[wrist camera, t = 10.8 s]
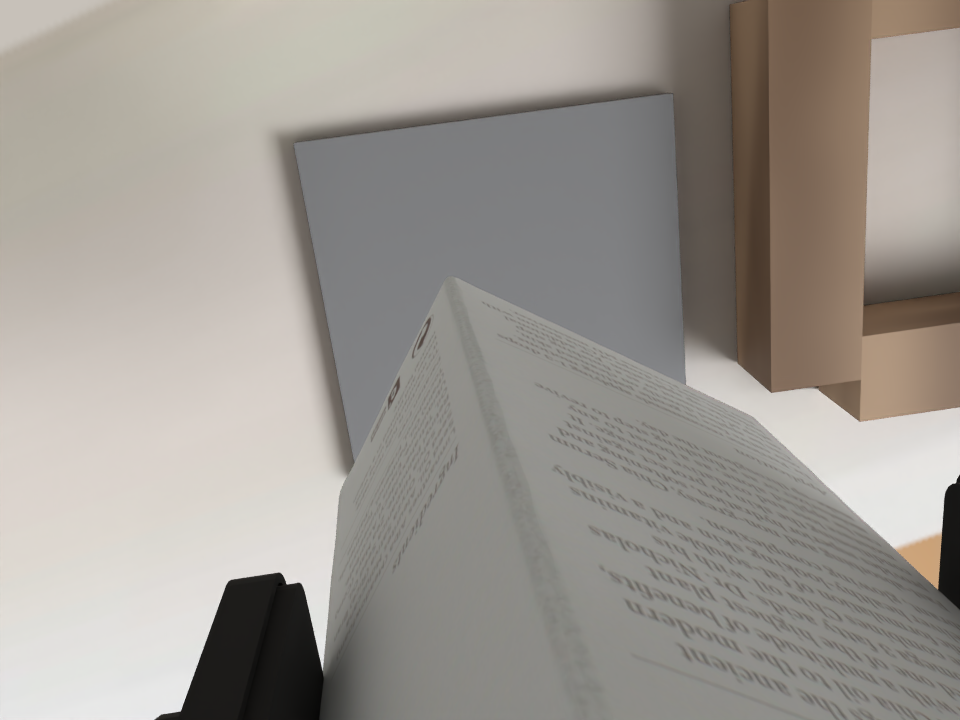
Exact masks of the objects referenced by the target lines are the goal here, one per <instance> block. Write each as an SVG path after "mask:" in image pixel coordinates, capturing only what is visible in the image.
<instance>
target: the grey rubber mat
mask: <svg viewBox="0 0 960 720" xmlns="http://www.w3.org/2000/svg"><path fill="white" fill-rule="evenodd" d="M293 144H294V149H295V154H296V160H297V165H298V170H299V175H300V181H301V186H302V191H303V196H304V202H305V207H306V212H307V217H308V223H309V228H310V233H311V238H312V244H313V249H314V254H315V259H316V265H317V270H318V275H319V280H320V286H321V291H322V296H323V301H324V306H325V312H326V317H327V322H328V327H329V333H330V338H331V343H332V348H333V354H334V359H335V364H336V369H337V375H338V380H339V385H340V390H341V396H342V401H343V406H344V411H345V417H346V422H347V427H348V432H349V438H350V443H351V448H352V453H353V459H354V463H355V461H356V459H357V457H358V455H359V453H360V451H361V449H362V447H363V445H364V443H365V441H366V439H367V437H368V435H369V433H370V431H371V429H372V426H373V424H374V422H375V420H376V418H377V416H378V414H379V412H380V410H381V408H382V406H383V403H384V401H385V399H386V397H387V395H388V393H389V391H390V389H391V387H392V384H393V382H394V380H395V378H396V376H397V374H398V372H399V370H400V368H401V366H402V364H403V362H404V360H405V358H406V356H407V354H408V352H409V350H410V348H411V346H412V344H413V342H414V341H415V339H416V337H417V335H418V333H419V331H420V329H421V327H422V325H423V323H424V321H425V319H426V317H427V315H428V313H429V311H430V309H431V307H432V305H433V303H434V301H435V299H436V297H437V295H438V293H439V291H440V289H441V287H442V285H443V283H444V281H445V279H446V278H447V277H449V276H453V277H456V278H458V279H461V280H463V281H465V282H467V283H469V284H471V285H473V286H475V287H477V288H479V289H481V290H483V291H485V292H487V293H490V294H492V295H494V296H496V297H498V298H500V299H503V300H505V301H507V302H509V303H511V304H513V305H516V306H518V307H520V308H522V309H524V310H526V311H528V312H530V313H533V314H535V315H537V316H539V317H541V318H543V319H546V320H548V321H550V322H552V323H554V324H557V325H559V326H561V327H563V328H565V329H567V330H569V331H572V332H574V333H576V334H578V335H580V336H582V337H584V338H586V339H588V340H591V341H593V342H595V343H597V344H599V345H601V346H603V347H606V348H608V349H610V350H612V351H614V352H616V353H619V354H621V355H623V356H625V357H627V358H629V359H631V360H633V361H635V362H637V363H639V364H641V365H643V366H646V367H648V368H650V369H652V370H654V371H657V372H659V373H661V374H663V375H665V376H667V377H669V378H672V379H674V380H676V381H678V382H680V383H682V384H684V385H686V376H685V353H684V331H683V308H682V285H681V263H680V240H679V217H678V195H677V172H676V149H675V127H674V104H673V93H665V94H657V95H649V96H642V97H634V98H627V99H619V100H612V101H604V102H596V103H589V104H581V105H574V106H566V107H558V108H551V109H543V110H536V111H528V112H520V113H513V114H505V115H498V116H490V117H482V118H475V119H467V120H460V121H452V122H445V123H437V124H429V125H422V126H414V127H407V128H399V129H391V130H384V131H376V132H369V133H361V134H353V135H346V136H338V137H331V138H323V139H316V140H308V141H300V142H295V143H293Z"/></svg>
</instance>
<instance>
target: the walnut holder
mask: <svg viewBox="0 0 960 720" xmlns="http://www.w3.org/2000/svg"><path fill="white" fill-rule="evenodd" d="M953 28H960V0H748V1H743V2H739V3H735V4H730V41H731V86H732V131H733V177H734V222H735V267H736V313H737V358H738V364H739V365H740V366H741V367H743V368H744V369H745V370H746V371H747V372H748V373H749V374H751V375H752V376H753V377H754V378H755V379H756V380H757V381H759V382H760V383H761V384H762V385H763V386H764V387H765V388H766V389H768V390H769V391H770V392H771V393H774V392H781V391H788V390H794V389H801V388H808V387H815V386H818V390H819V391H821V392H822V393H823V394H824V395H826V396H827V397H828V398H830V399H831V400H832V401H834V402H835V403H836V404H837V405H839V406H840V407H841V408H843V409H844V410H845V411H846V412H848V413H849V414H850V415H852V416H853V417H854V418H856V419H857V420H858V421H859V422H861V421H868V420H875V419H882V418H889V417H896V416H903V415H909V414H916V413H923V412H930V411H937V410H944V409H951V408H957V407H960V292H956V293H949V294H942V295H935V296H928V297H921V298H914V299H907V300H900V301H893V302H886V303H879V304H871V305H864V306H863V297H864V264H865V230H866V197H867V163H868V130H869V96H870V63H871V39H876V38H884V37H891V36H899V35H907V34H914V33H922V32H930V31H937V30H945V29H953Z"/></svg>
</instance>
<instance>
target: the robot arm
mask: <svg viewBox="0 0 960 720" xmlns="http://www.w3.org/2000/svg"><path fill="white" fill-rule="evenodd" d="M938 590H939V591H940V592H941V593H942V594H943V595H944V596H945V597H946V598H947V599H948V600H950V601H951V602H952V603H953V604H954V605H955V606H956V607H957V608H958V609H959V610H960V475H959V477H958V478H957V482H956V483H955V484H952V485H950V486H949V487H948V488H947V490H946V493H945V498H944V512H943V527H942V543H941V557H940V572H939V586H938ZM323 681H324V676H323V671H322V667H321V662H320V658H319V653H318V649H317V645H316V640H315V636H314V631H313V627H312V622H311V618H310V613H309V609H308V605H307V600H306V596H305V592H304V589H303V586H302V584H300V583H295V584H288V585H286V581H285V579H284V577H283V575H282V574H281V573H274V574H267V575H260V576H254V577H247V578H240V579H234V580H230V581H229V582H228V584H227V585H226V588H225V590H224V593H223V596H222V599H221V601H220V604H219V607H218V610H217V613H216V615H215V618H214V621H213V624H212V626H211V629H210V632H209V635H208V638H207V640H206V643H205V646H204V649H203V652H202V654H201V657H200V660H199V663H198V665H197V668H196V671H195V674H194V677H193V679H192V682H191V685H190V688H189V690H188V693H187V696H186V699H185V702H184V704H183V707H182V710H181V712H175V713H169V714H163V715H160V716H159V717H158V718H156V719H155V720H319V717H320V708H321V698H322V689H323Z"/></svg>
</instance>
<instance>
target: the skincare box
mask: <svg viewBox="0 0 960 720" xmlns="http://www.w3.org/2000/svg"><path fill="white" fill-rule="evenodd" d="M323 676H324V681H323V689H322V698H321V708H320V717H319V720H960V610H959V609H958V608H957V607H956V606H955V605H954V604H953V603H952V602H951V601H950V600H948V599H947V598H946V597H945V596H944V595H943V594H942V593H941V592H940V591H939V590H937V589H936V588H935V587H934V586H933V585H932V584H931V583H930V582H929V581H928V580H926V578H924V577H923V576H922V575H921V574H920V573H919V572H918V571H917V570H916V569H915V568H914V567H913V566H912V565H911V564H909V562H907V561H906V560H905V559H904V558H903V557H902V556H901V555H900V554H899V553H898V552H897V551H896V550H895V549H894V548H893V547H892V546H891V545H890V544H888V543H887V542H886V541H885V540H884V539H883V538H882V537H881V536H880V535H879V534H878V533H877V532H875V531H874V530H873V529H872V528H871V527H870V526H869V525H868V524H867V523H866V522H864V521H863V520H862V519H861V518H860V517H859V516H858V515H857V514H856V513H854V512H853V511H852V510H851V509H850V508H849V507H848V506H847V505H846V504H845V503H844V502H843V501H842V500H841V499H840V498H839V497H838V496H837V495H836V494H835V493H834V492H833V491H831V490H830V489H829V488H828V487H827V486H826V485H825V484H824V483H823V482H822V481H821V480H820V479H819V478H818V477H817V476H816V475H815V474H814V473H813V472H812V471H811V470H810V469H809V468H807V467H806V466H805V465H804V464H803V463H802V462H801V461H800V460H799V459H798V458H796V457H795V456H794V455H793V454H792V453H791V452H790V451H789V450H788V449H787V448H786V447H785V446H784V445H783V444H781V443H780V442H779V441H778V440H777V439H776V438H775V437H774V436H773V435H772V434H771V433H770V432H769V431H768V430H767V429H765V428H764V427H763V426H762V425H761V424H760V423H759V422H758V421H757V420H756V419H755V418H753V417H752V416H750V415H748V414H746V413H744V412H742V411H739V410H737V409H735V408H733V407H731V406H729V405H727V404H725V403H723V402H720V401H718V400H716V399H714V398H712V397H710V396H708V395H706V394H704V393H701V392H699V391H697V390H695V389H693V388H691V387H689V386H687V385H684V384H682V383H680V382H678V381H676V380H674V379H672V378H669V377H667V376H665V375H663V374H661V373H659V372H657V371H654V370H652V369H650V368H648V367H646V366H643V365H641V364H639V363H637V362H635V361H633V360H631V359H629V358H627V357H625V356H623V355H621V354H619V353H616V352H614V351H612V350H610V349H608V348H606V347H603V346H601V345H599V344H597V343H595V342H593V341H591V340H588V339H586V338H584V337H582V336H580V335H578V334H576V333H574V332H572V331H569V330H567V329H565V328H563V327H561V326H559V325H557V324H554V323H552V322H550V321H548V320H546V319H543V318H541V317H539V316H537V315H535V314H533V313H530V312H528V311H526V310H524V309H522V308H520V307H518V306H516V305H513V304H511V303H509V302H507V301H505V300H503V299H500V298H498V297H496V296H494V295H492V294H490V293H487V292H485V291H483V290H481V289H479V288H477V287H475V286H473V285H471V284H469V283H467V282H465V281H463V280H461V279H458V278H456V277H453V276H449V277H447V278H446V279H445V281H444V283H443V285H442V287H441V289H440V291H439V293H438V295H437V297H436V299H435V301H434V303H433V305H432V307H431V309H430V311H429V313H428V315H427V317H426V319H425V321H424V323H423V325H422V327H421V329H420V331H419V333H418V335H417V337H416V339H415V341H414V342H413V344H412V346H411V348H410V350H409V352H408V354H407V356H406V358H405V360H404V362H403V364H402V366H401V368H400V370H399V372H398V374H397V376H396V378H395V380H394V382H393V384H392V387H391V389H390V391H389V393H388V395H387V397H386V399H385V401H384V403H383V406H382V408H381V410H380V412H379V414H378V416H377V418H376V420H375V422H374V424H373V426H372V429H371V431H370V433H369V435H368V437H367V439H366V441H365V443H364V445H363V447H362V449H361V451H360V453H359V455H358V457H357V459H356V461H355V463H354V465H353V467H352V469H351V471H350V473H349V475H348V477H347V478H346V480H345V482H344V484H343V486H342V489H341V491H340V496H339V504H338V516H337V529H336V541H335V550H334V559H333V568H332V576H331V587H330V600H329V613H328V623H327V633H326V644H325V654H324V665H323Z"/></svg>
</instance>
